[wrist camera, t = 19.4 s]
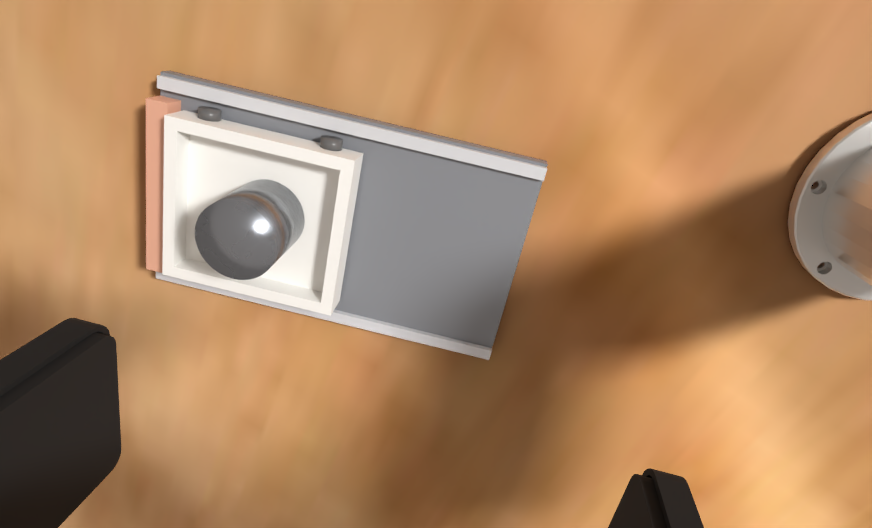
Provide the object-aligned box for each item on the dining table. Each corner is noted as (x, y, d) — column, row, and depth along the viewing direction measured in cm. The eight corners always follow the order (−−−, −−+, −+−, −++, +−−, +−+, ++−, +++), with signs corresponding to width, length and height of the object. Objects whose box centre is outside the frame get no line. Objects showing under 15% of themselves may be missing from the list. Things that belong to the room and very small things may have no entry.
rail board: (546, 161, 35) (549, 170, 33) (488, 352, 41) (488, 371, 39) (169, 70, 36) (145, 73, 34) (166, 273, 42) (146, 287, 40)
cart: (365, 143, 35) (356, 151, 33) (338, 307, 40) (329, 323, 38) (185, 100, 35) (164, 105, 33) (180, 268, 40) (162, 281, 38)
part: (308, 189, 36) (280, 211, 31) (300, 257, 38) (272, 288, 33) (235, 171, 36) (196, 191, 31) (230, 240, 38) (193, 269, 33)
